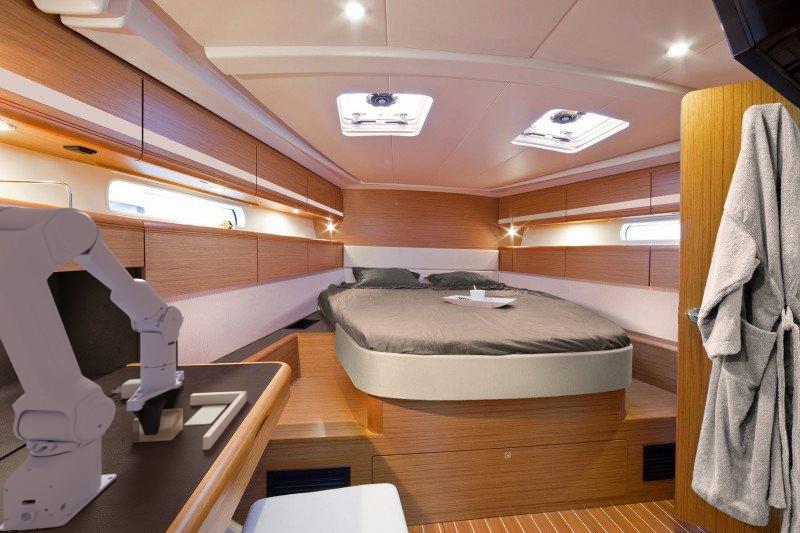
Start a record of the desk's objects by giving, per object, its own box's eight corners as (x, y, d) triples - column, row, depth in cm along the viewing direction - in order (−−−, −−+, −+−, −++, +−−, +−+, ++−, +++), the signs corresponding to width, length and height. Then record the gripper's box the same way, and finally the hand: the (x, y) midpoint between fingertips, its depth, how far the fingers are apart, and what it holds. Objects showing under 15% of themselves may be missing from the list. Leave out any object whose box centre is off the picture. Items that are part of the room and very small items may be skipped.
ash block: (171, 440, 60) (171, 418, 60) (132, 442, 59) (132, 420, 59) (182, 428, 64) (182, 408, 64) (146, 430, 63) (146, 409, 63)
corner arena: (209, 449, 58) (209, 436, 57) (134, 454, 56) (134, 441, 56) (247, 400, 77) (247, 391, 77) (192, 403, 75) (192, 393, 75)
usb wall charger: (141, 398, 78) (141, 383, 77) (109, 401, 76) (109, 385, 76) (150, 391, 81) (149, 377, 81) (119, 394, 80) (119, 379, 80)
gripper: (156, 376, 55) (156, 448, 55) (198, 351, 69) (198, 409, 69) (113, 377, 54) (114, 451, 54) (164, 352, 68) (164, 410, 68)
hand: (158, 427), depth 62 cm, fingers closed on ash block, 4 cm apart
